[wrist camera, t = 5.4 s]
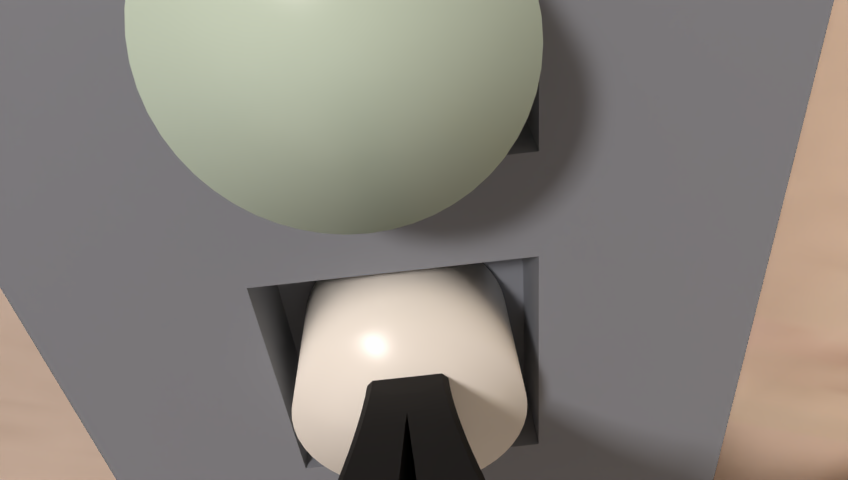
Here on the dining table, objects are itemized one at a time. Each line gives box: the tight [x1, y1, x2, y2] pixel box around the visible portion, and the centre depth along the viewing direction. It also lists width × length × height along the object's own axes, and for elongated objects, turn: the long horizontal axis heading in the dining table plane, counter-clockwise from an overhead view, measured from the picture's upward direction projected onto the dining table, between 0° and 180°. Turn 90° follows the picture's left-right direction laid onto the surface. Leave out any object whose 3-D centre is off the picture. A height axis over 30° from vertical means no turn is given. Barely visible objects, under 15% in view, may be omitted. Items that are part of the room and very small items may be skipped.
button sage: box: [124, 0, 543, 235], centre depth 8 cm, size 4×4×3 cm
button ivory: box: [292, 263, 527, 475], centre depth 13 cm, size 4×4×3 cm
